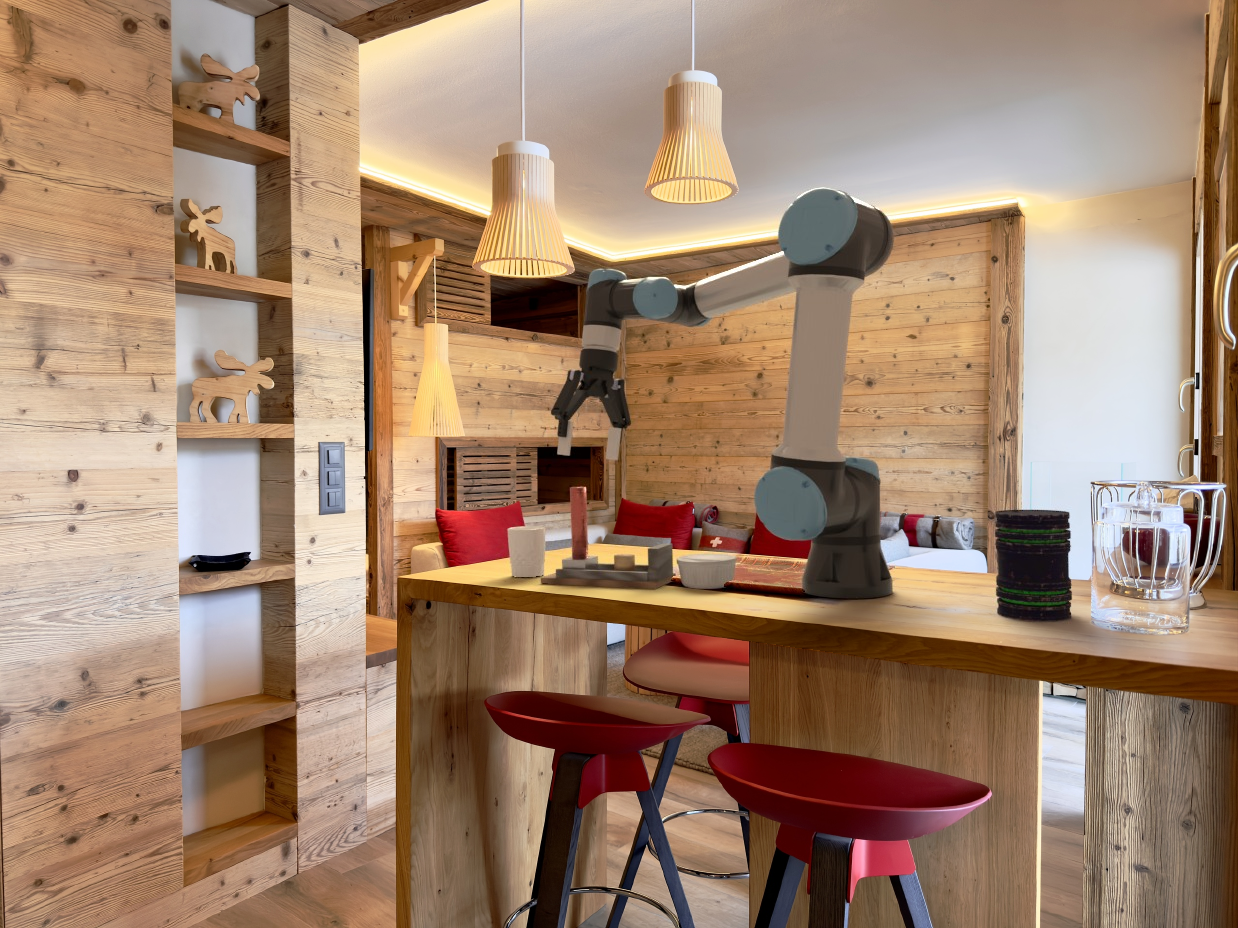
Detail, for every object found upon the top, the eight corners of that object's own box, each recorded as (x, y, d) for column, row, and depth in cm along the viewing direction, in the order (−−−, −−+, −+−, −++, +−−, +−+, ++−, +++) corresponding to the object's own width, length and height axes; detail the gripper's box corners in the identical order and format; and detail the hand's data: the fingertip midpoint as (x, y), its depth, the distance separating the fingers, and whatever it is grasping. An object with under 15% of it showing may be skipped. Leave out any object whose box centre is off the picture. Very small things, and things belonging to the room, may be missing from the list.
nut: (636, 577, 154) (635, 556, 154) (615, 578, 154) (614, 557, 154) (634, 573, 158) (633, 553, 158) (613, 574, 158) (613, 554, 158)
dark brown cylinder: (1089, 617, 114) (1087, 512, 114) (1036, 624, 111) (1034, 516, 111) (1030, 605, 124) (1028, 508, 123) (981, 611, 120) (978, 511, 120)
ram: (598, 571, 161) (595, 486, 161) (585, 575, 156) (582, 488, 156) (576, 570, 163) (573, 486, 163) (562, 574, 158) (559, 488, 158)
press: (675, 579, 158) (674, 542, 157) (656, 588, 147) (654, 549, 147) (566, 575, 167) (565, 540, 167) (540, 583, 157) (539, 546, 157)
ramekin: (676, 590, 146) (675, 561, 146) (678, 580, 157) (677, 553, 157) (738, 590, 145) (737, 560, 145) (736, 580, 156) (735, 552, 156)
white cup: (550, 572, 171) (548, 525, 171) (542, 578, 164) (541, 529, 163) (513, 573, 172) (512, 526, 172) (504, 578, 164) (503, 530, 164)
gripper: (627, 360, 170) (617, 459, 170) (540, 339, 152) (528, 451, 152) (655, 360, 165) (643, 463, 165) (567, 338, 147) (555, 454, 147)
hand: (588, 457), depth 159 cm, fingers open, 13 cm apart
